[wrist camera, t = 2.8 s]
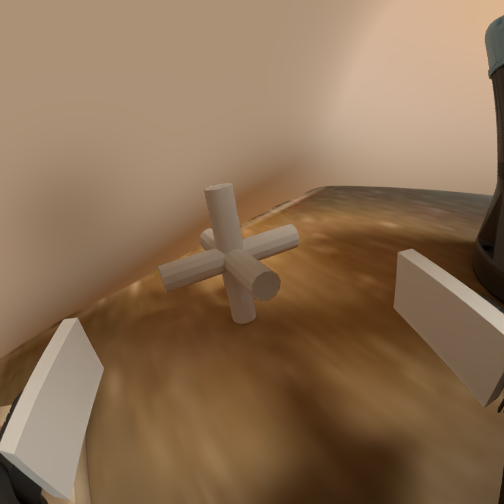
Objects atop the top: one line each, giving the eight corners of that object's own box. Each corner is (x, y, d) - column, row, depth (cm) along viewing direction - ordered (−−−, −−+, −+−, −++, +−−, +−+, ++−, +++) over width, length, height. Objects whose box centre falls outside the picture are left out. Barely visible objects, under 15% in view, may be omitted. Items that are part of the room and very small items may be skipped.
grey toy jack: (169, 309, 25) (136, 197, 21) (270, 272, 29) (253, 167, 25) (204, 383, 17) (151, 225, 13) (337, 322, 20) (330, 177, 16)
